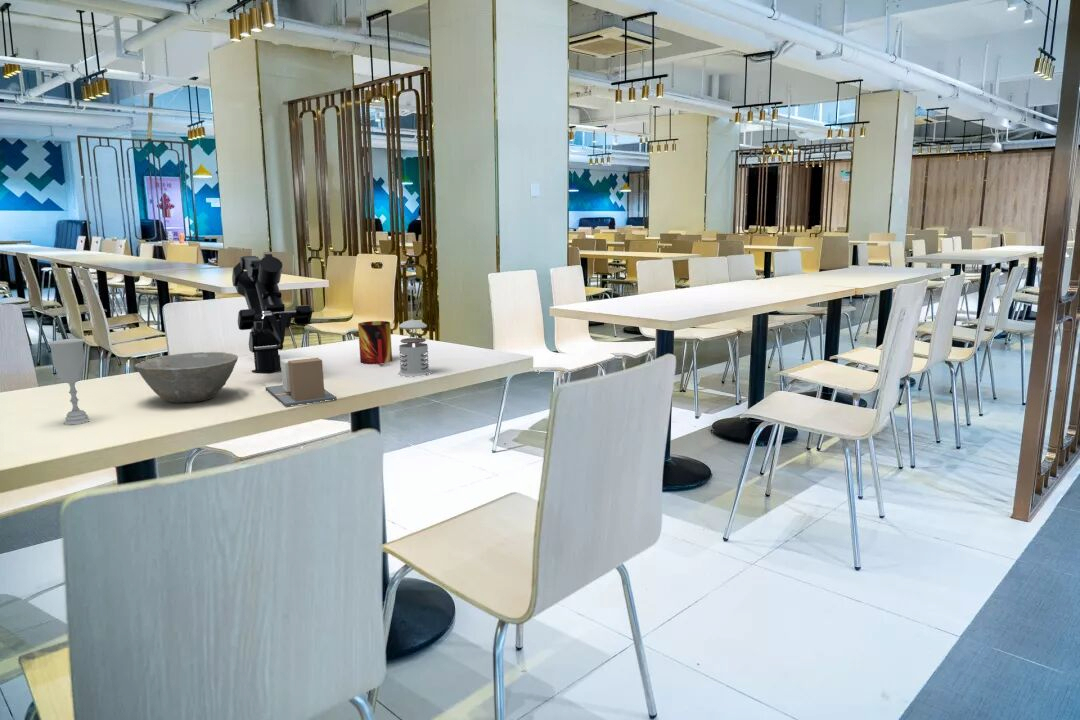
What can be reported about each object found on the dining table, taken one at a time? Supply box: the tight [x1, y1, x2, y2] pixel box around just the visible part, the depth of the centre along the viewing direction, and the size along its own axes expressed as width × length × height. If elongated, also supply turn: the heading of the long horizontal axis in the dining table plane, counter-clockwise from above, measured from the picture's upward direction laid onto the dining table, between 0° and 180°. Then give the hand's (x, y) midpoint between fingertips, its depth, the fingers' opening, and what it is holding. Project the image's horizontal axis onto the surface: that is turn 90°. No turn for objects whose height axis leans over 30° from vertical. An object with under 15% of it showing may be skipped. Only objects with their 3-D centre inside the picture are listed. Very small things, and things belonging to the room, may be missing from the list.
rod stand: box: [265, 357, 337, 407], centre depth 186 cm, size 22×12×10 cm, turn 32°
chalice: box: [47, 338, 91, 425], centre depth 163 cm, size 7×7×18 cm
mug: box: [357, 320, 393, 365], centre depth 228 cm, size 10×14×12 cm
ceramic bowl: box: [134, 351, 239, 404], centre depth 183 cm, size 22×23×10 cm
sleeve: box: [280, 356, 312, 392], centre depth 185 cm, size 5×7×7 cm
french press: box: [397, 285, 432, 378], centre depth 209 cm, size 10×12×25 cm
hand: (282, 342), depth 197 cm, fingers closed
